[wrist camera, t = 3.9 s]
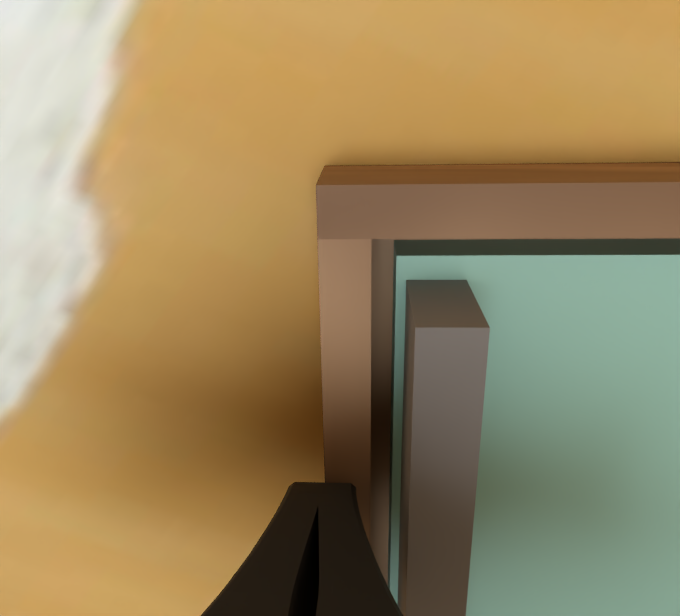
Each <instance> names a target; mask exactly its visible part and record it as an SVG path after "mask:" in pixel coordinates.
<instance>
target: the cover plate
mask: <svg viewBox="0 0 680 616" xmlns="http://www.w3.org/2000/svg"><path fill="white" fill-rule="evenodd" d="M388 587H389V590H390V592H391V594H392V596H393V598H394V599H395V601H396V603H397V605H398V607H399V609H400V611H401V613H402V614H403V616H680V239H490V240H394V262H393V317H392V372H391V426H390V481H389V536H388Z"/></svg>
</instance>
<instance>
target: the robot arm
mask: <svg viewBox="0 0 680 616" xmlns="http://www.w3.org/2000/svg"><path fill="white" fill-rule="evenodd" d="M201 616H403V614H402V613H401V611H400V609H399V607H398V605H397V603H396V601H395V599H394V598H393V596H392V594H391V592H390V590H389V587H388V585H387V583H386V581H385V579H384V577H383V575H382V573H381V570H380V568H379V566H378V563H377V561H376V559H375V556H374V553H373V551H372V548H371V546H370V543H369V541H368V538H367V535H366V532H365V529H364V526H363V522H362V519H361V516H360V512H359V507H358V502H357V496H356V487H355V486H354V485H353V484H352V483H316V482H294V483H293V484H292V485H290V486H289V488H288V490H287V492H286V494H285V496H284V498H283V500H282V502H281V504H280V506H279V508H278V510H277V511H276V513H275V515H274V517H273V518H272V520H271V522H270V523H269V525H268V527H267V528H266V530H265V531H264V533H263V534H262V536H261V537H260V539H259V541H258V542H257V544H256V545H255V547H254V548H253V550H252V551H251V553H250V554H249V556H248V557H247V558H246V560H245V561H244V562H243V564H242V565H241V566H240V568H239V569H238V570H237V572H236V573H235V574H234V576H233V577H232V579H231V580H230V581H229V583H228V584H227V585H226V586H225V588H224V589H223V590H222V591H221V593H220V594H219V595H218V596H217V597H216V599H215V600H214V601H213V602H212V603H211V605H210V606H209V607H208V608H207V609H206V610H205V611H204V612H203V614H202V615H201Z"/></svg>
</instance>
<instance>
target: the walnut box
mask: <svg viewBox="0 0 680 616" xmlns="http://www.w3.org/2000/svg"><path fill="white" fill-rule="evenodd" d="M316 203H317V236H318V269H319V302H320V335H321V368H322V401H323V433H324V466H325V483H352V484H353V485H354V486H355V487H356V496H357V502H358V507H359V512H360V516H361V519H362V522H363V526H364V529H365V532H366V535H367V538H368V541H369V543H370V546H371V548H372V551H373V553H374V556H375V559H376V561H377V563H378V566H379V568H380V570H381V573H382V575H383V577H384V579H385V581H386V583H387V585H388V536H389V481H390V426H391V372H392V317H393V262H394V240H490V239H680V162H665V163H565V164H465V165H366V166H324V169H323V171H322V173H321V175H320V177H319V180H318V182H317V184H316Z"/></svg>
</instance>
